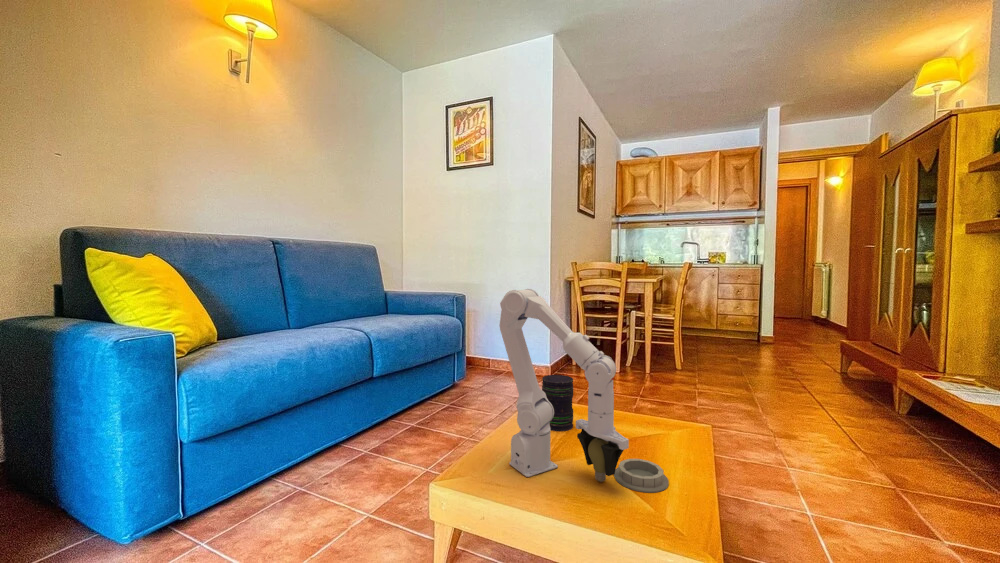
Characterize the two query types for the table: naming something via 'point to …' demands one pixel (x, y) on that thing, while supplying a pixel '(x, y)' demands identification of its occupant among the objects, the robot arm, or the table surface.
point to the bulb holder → (641, 476)
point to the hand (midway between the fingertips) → (600, 469)
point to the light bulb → (597, 458)
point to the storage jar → (559, 400)
